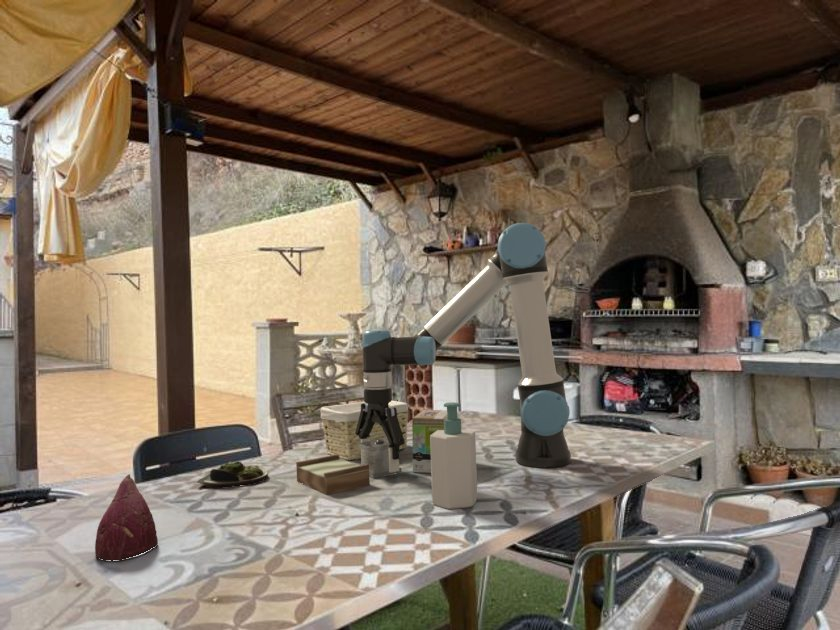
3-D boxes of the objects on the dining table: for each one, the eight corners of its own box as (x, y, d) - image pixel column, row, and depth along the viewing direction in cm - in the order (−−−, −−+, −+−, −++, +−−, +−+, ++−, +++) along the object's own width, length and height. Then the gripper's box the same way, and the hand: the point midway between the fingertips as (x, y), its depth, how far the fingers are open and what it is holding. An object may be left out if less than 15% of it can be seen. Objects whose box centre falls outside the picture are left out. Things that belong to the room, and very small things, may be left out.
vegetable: (111, 559, 115) (107, 480, 119) (166, 549, 116) (160, 470, 120) (84, 568, 105) (80, 481, 109) (144, 556, 106) (138, 470, 109)
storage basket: (346, 463, 173) (344, 412, 173) (319, 453, 186) (317, 406, 186) (412, 449, 188) (410, 402, 188) (382, 442, 201) (381, 398, 201)
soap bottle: (471, 494, 139) (468, 399, 139) (483, 506, 130) (480, 404, 130) (427, 498, 137) (424, 402, 137) (437, 511, 128) (434, 407, 128)
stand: (369, 484, 149) (369, 464, 149) (326, 494, 142) (326, 473, 142) (337, 472, 162) (337, 454, 162) (296, 481, 155) (296, 462, 155)
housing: (401, 472, 161) (400, 439, 161) (373, 478, 155) (372, 444, 155) (386, 467, 166) (385, 436, 166) (359, 473, 161) (358, 440, 161)
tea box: (449, 474, 158) (447, 417, 158) (412, 473, 160) (410, 417, 160) (457, 460, 172) (455, 408, 172) (423, 459, 174) (421, 408, 174)
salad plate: (197, 474, 167) (196, 457, 167) (263, 467, 173) (262, 451, 173) (196, 492, 148) (196, 474, 148) (270, 484, 155) (269, 466, 155)
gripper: (342, 385, 169) (343, 460, 169) (392, 393, 149) (394, 478, 149) (364, 382, 173) (366, 456, 173) (416, 390, 153) (418, 473, 153)
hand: (379, 466), depth 161 cm, fingers open, 13 cm apart
